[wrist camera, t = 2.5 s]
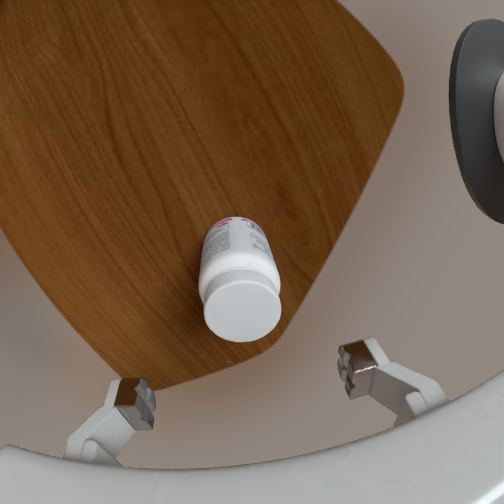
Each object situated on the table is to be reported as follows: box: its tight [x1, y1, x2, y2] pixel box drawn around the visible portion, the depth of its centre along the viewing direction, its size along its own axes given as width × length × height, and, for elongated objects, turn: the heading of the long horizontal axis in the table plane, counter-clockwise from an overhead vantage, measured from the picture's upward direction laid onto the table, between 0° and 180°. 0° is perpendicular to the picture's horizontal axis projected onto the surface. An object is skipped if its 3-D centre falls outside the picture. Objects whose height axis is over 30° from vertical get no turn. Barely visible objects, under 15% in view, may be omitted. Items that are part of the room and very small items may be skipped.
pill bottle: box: [199, 217, 281, 342], centre depth 19 cm, size 5×5×8 cm
